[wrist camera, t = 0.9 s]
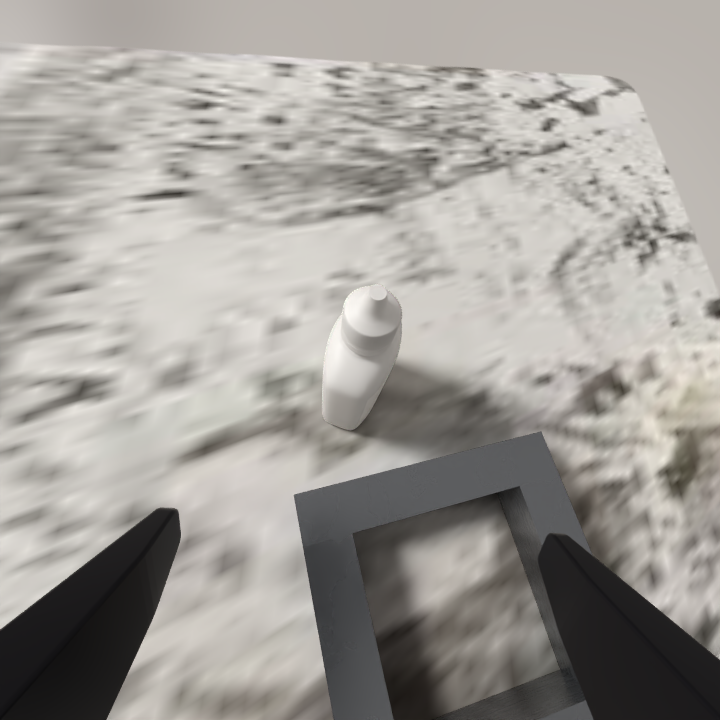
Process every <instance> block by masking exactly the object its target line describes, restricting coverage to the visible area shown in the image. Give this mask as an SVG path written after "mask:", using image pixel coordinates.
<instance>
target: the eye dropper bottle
mask: <svg viewBox="0 0 720 720" xmlns="http://www.w3.org/2000/svg"><path fill="white" fill-rule="evenodd" d="M401 319H402V309H401V306H400V304H399V301H398V299H396V297H395V296H394V295H393V294H392V293H390V291H388V290H387V289H386V288H385V287H384V286H383V285H380V284H374V285H372V286H366V287H365V286H363V287H361V288H358V289H356V290H355V291H353V292H352V293H351V294H350V295H349V296H348V297H347V299H346V301H345V302H344V306H343V313H342V314H341V315H340V317H339V318H338V320H337V322H336V323H335V325H334V327H333V329H332V331H331V334H330V336H329V340H328V343H327V346H326V351H325V357H324V366H323V389H322V414H323V418H324V420H325V421H326V422H328V423H330V424H332V425H335V426H337V427H340V428H343V429H346V430H353V429H356V428H357V427H358V426H359V425H360V424H361V423H362V422H363V421H364V419H365V418H366V417H367V415H368V414H369V412H370V411H371V409H372V407H373V405H374V403H375V402H376V400H377V398H378V396H379V394H380V392H381V390H382V388H383V386H384V384H385V382H386V380H387V378H388V376H389V374H390V372H391V370H392V368H393V366H394V363H395V361H396V358H397V355H398V352H399V348H400V344H401V336H402V323H401Z"/></svg>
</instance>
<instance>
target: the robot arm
mask: <svg viewBox="0 0 720 720" xmlns="http://www.w3.org/2000/svg"><path fill="white" fill-rule="evenodd" d="M180 538H181V530H180V521H179V513H178V510H177V509H175V508H158V509H156V510H155V511H153V512H152V513H151V514H150V515H148V516H147V517H146V518H144V519H143V520H142V521H140V522H139V523H138V524H137V525H135V526H134V527H133V528H131V529H130V530H129V531H127V532H126V533H125V534H124V535H122V536H121V537H120V538H118V539H117V540H116V541H115V542H113V543H112V544H111V545H109V546H108V547H107V548H105V549H104V550H103V551H102V552H100V553H99V554H98V555H96V556H95V557H94V558H92V559H91V560H90V561H89V562H87V563H86V564H85V565H83V566H82V567H81V568H79V569H78V570H77V571H76V572H74V573H73V574H72V575H70V576H69V577H68V578H67V579H65V580H64V581H63V582H61V583H60V584H59V585H57V586H56V587H55V588H54V589H52V590H51V591H50V592H48V593H47V594H46V595H44V596H43V597H42V598H41V599H39V600H38V601H37V602H35V603H34V604H33V605H32V606H30V607H29V608H28V609H26V610H25V611H24V612H22V613H21V614H20V615H19V616H17V617H16V618H15V619H13V620H12V621H11V622H9V623H8V624H7V625H6V626H4V627H3V628H2V629H0V720H106V719H107V717H108V715H109V713H110V711H111V709H112V706H113V704H114V702H115V700H116V698H117V696H118V693H119V691H120V689H121V687H122V685H123V683H124V680H125V678H126V676H127V674H128V672H129V670H130V667H131V665H132V663H133V661H134V659H135V657H136V654H137V652H138V650H139V648H140V646H141V643H142V641H143V639H144V637H145V635H146V633H147V630H148V628H149V626H150V624H151V621H152V619H153V617H154V615H155V612H156V609H157V607H158V604H159V601H160V598H161V595H162V592H163V589H164V587H165V584H166V581H167V578H168V575H169V572H170V569H171V566H172V564H173V561H174V558H175V555H176V552H177V549H178V546H179V543H180ZM538 565H539V569H540V572H541V575H542V579H543V582H544V585H545V589H546V592H547V595H548V599H549V602H550V605H551V609H552V612H553V615H554V619H555V622H556V625H557V628H558V631H559V634H560V636H561V639H562V642H563V644H564V647H565V649H566V652H567V654H568V657H569V659H570V662H571V664H572V667H573V669H574V672H575V674H576V677H577V679H578V682H579V684H580V687H581V689H582V692H583V694H584V697H585V700H586V702H587V705H588V707H589V710H590V712H591V715H592V717H593V720H720V660H719V659H718V658H717V657H716V656H714V655H713V654H712V653H711V652H710V651H708V650H707V649H706V648H705V647H703V646H702V645H701V644H700V643H699V642H697V641H696V640H695V639H694V638H692V637H691V636H690V635H689V634H688V633H686V632H685V631H684V630H683V629H682V628H680V627H679V626H678V625H677V624H675V623H674V622H673V621H672V620H671V619H669V618H668V617H667V616H666V615H665V614H663V613H662V612H661V611H660V610H658V609H657V608H656V607H655V606H654V605H652V604H651V603H650V602H649V601H647V600H646V599H645V598H644V597H643V596H641V595H640V594H639V593H638V592H637V591H635V590H634V589H633V588H632V587H630V586H629V585H628V584H627V583H626V582H624V581H623V580H622V579H621V578H619V577H618V576H617V575H616V574H615V573H613V572H612V571H611V570H610V569H609V568H607V567H606V566H605V565H604V564H602V563H601V562H600V561H599V560H598V559H596V558H595V557H594V556H593V555H591V554H590V553H589V552H588V551H587V550H585V549H584V548H583V547H582V546H581V545H579V544H578V543H577V542H576V541H574V540H573V539H572V538H571V537H569V536H568V535H566V534H563V533H549V534H548V535H547V536H546V538H545V541H544V543H543V545H542V548H541V550H540V552H539V555H538Z"/></svg>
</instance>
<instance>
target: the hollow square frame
mask: <svg viewBox="0 0 720 720" xmlns="http://www.w3.org/2000/svg"><path fill="white" fill-rule="evenodd" d="M493 493H498V496H499V499H500V501H501V504H502V507H503V510H504V513H505V515H506V518H507V521H508V524H509V527H510V529H511V532H512V535H513V538H514V541H515V544H516V546H517V549H518V552H519V555H520V558H521V560H522V563H523V566H524V569H525V572H526V574H527V577H528V580H529V583H530V586H531V589H532V591H533V594H534V597H535V600H536V603H537V605H538V608H539V611H540V614H541V617H542V619H543V622H544V625H545V628H546V631H547V634H548V636H549V639H550V642H551V645H552V648H553V650H554V653H555V656H556V659H557V662H558V664H559V667H560V670H558V671H556V672H553V673H551V674H548V675H545V676H543V677H540V678H538V679H535V680H533V681H530V682H528V683H525V684H522V685H520V686H517V687H515V688H512V689H510V690H507V691H504V692H502V693H499V694H497V695H494V696H492V697H489V698H486V699H484V700H481V701H479V702H476V703H474V704H471V705H468V706H466V707H463V708H461V709H458V710H456V711H453V712H451V713H448V714H445V715H443V716H440V717H438V718H435V719H433V720H593V717H592V715H591V712H590V710H589V707H588V705H587V702H586V700H585V697H584V694H583V692H582V689H581V687H580V684H579V682H578V679H577V677H576V674H575V672H574V669H573V667H572V664H571V662H570V659H569V657H568V654H567V652H566V649H565V647H564V644H563V642H562V639H561V636H560V634H559V631H558V628H557V625H556V622H555V619H554V615H553V612H552V609H551V605H550V602H549V599H548V595H547V592H546V589H545V585H544V582H543V579H542V575H541V572H540V569H539V565H538V555H539V552H540V550H541V548H542V545H543V543H544V541H545V538H546V536H547V535H548V534H549V533H563V534H566V535H568V536H569V537H571V538H572V539H573V540H574V541H576V542H577V543H578V544H579V545H581V546H582V547H583V548H584V549H585V550H587V551H588V552H589V553H590V554H591V555H592V552H591V550H590V548H589V545H588V543H587V540H586V538H585V536H584V533H583V531H582V528H581V526H580V524H579V521H578V519H577V516H576V514H575V512H574V509H573V507H572V504H571V502H570V499H569V497H568V495H567V492H566V490H565V487H564V485H563V483H562V480H561V478H560V475H559V473H558V471H557V468H556V466H555V463H554V461H553V459H552V456H551V454H550V451H549V449H548V447H547V444H546V442H545V439H544V437H543V435H542V432H537V433H533V434H529V435H526V436H522V437H518V438H514V439H510V440H506V441H502V442H498V443H494V444H490V445H487V446H483V447H479V448H475V449H471V450H467V451H463V452H459V453H455V454H451V455H447V456H444V457H440V458H436V459H432V460H428V461H424V462H420V463H416V464H412V465H408V466H405V467H401V468H397V469H393V470H389V471H385V472H381V473H377V474H373V475H369V476H365V477H362V478H358V479H354V480H350V481H346V482H342V483H338V484H334V485H330V486H326V487H323V488H319V489H315V490H311V491H307V492H303V493H299V494H295V495H294V499H295V504H296V510H297V516H298V521H299V527H300V532H301V538H302V544H303V549H304V555H305V560H306V566H307V572H308V577H309V583H310V589H311V594H312V600H313V605H314V611H315V617H316V622H317V628H318V633H319V639H320V645H321V650H322V656H323V662H324V667H325V673H326V678H327V684H328V690H329V695H330V701H331V706H332V712H333V718H334V720H394V719H393V715H392V710H391V706H390V701H389V697H388V692H387V688H386V683H385V679H384V674H383V670H382V665H381V661H380V656H379V652H378V647H377V643H376V638H375V633H374V629H373V624H372V620H371V615H370V611H369V606H368V602H367V597H366V593H365V588H364V584H363V579H362V575H361V570H360V566H359V561H358V557H357V552H356V548H355V543H354V539H353V534H352V533H355V532H359V531H362V530H366V529H369V528H373V527H376V526H380V525H383V524H387V523H390V522H394V521H398V520H401V519H405V518H408V517H412V516H415V515H419V514H422V513H426V512H429V511H433V510H436V509H440V508H444V507H447V506H451V505H454V504H458V503H461V502H465V501H468V500H472V499H475V498H479V497H482V496H486V495H490V494H493Z"/></svg>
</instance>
